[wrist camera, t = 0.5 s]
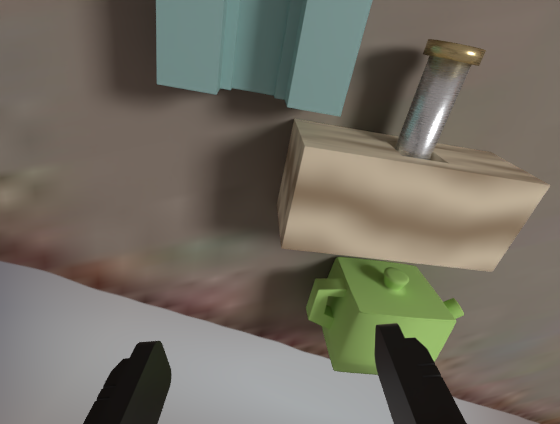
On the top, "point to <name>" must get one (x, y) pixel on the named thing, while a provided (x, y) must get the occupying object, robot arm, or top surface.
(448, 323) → the green cube pot
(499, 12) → the top surface
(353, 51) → the v block
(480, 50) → the axle
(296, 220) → the beam
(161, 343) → the robot arm
